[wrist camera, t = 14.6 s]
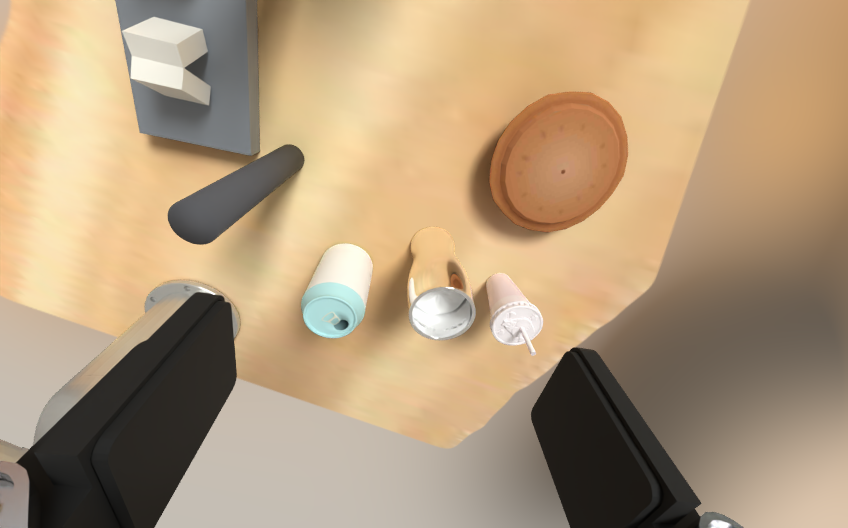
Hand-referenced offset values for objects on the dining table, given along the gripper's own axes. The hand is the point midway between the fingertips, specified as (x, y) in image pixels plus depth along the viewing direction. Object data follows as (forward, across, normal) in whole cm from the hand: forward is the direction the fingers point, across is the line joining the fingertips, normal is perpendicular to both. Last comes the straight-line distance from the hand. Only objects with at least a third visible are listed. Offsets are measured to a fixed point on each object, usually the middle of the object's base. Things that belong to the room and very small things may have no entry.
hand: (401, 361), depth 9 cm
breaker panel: (+33, +22, -6) cm, 40 cm away
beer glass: (+34, -6, +12) cm, 36 cm away
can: (+34, +5, +17) cm, 38 cm away
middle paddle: (+31, +22, -6) cm, 38 cm away
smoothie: (+34, -17, +16) cm, 41 cm away
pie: (+34, -17, -2) cm, 38 cm away
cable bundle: (+33, +13, +4) cm, 36 cm away
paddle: (+31, +22, -1) cm, 38 cm away
